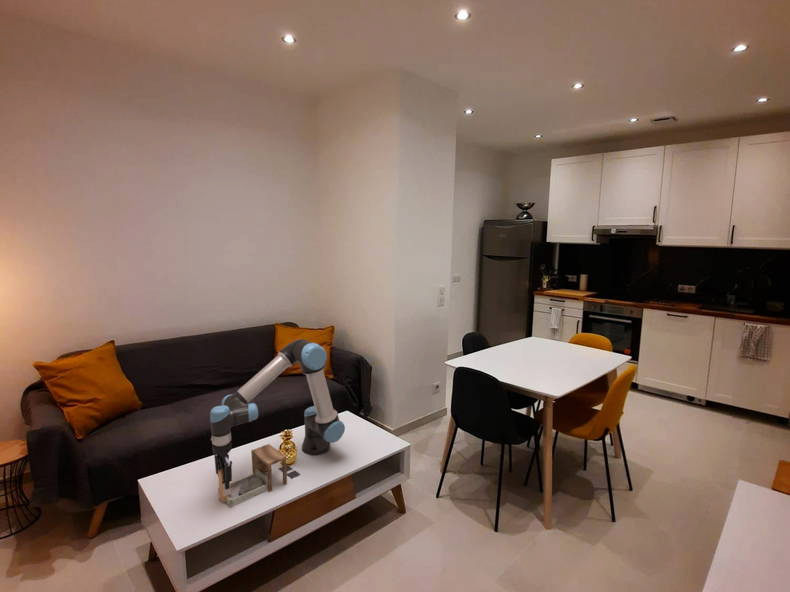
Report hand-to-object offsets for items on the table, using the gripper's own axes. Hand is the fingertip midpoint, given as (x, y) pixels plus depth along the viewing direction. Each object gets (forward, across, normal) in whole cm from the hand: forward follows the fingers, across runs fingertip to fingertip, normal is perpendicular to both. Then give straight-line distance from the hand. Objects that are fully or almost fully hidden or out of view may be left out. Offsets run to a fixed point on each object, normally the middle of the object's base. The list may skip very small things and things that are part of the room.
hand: (224, 492), depth 180 cm
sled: (+3, 0, +8) cm, 9 cm away
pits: (+4, 0, +32) cm, 32 cm away
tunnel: (+4, 0, +21) cm, 21 cm away
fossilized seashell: (+4, +1, +12) cm, 12 cm away
